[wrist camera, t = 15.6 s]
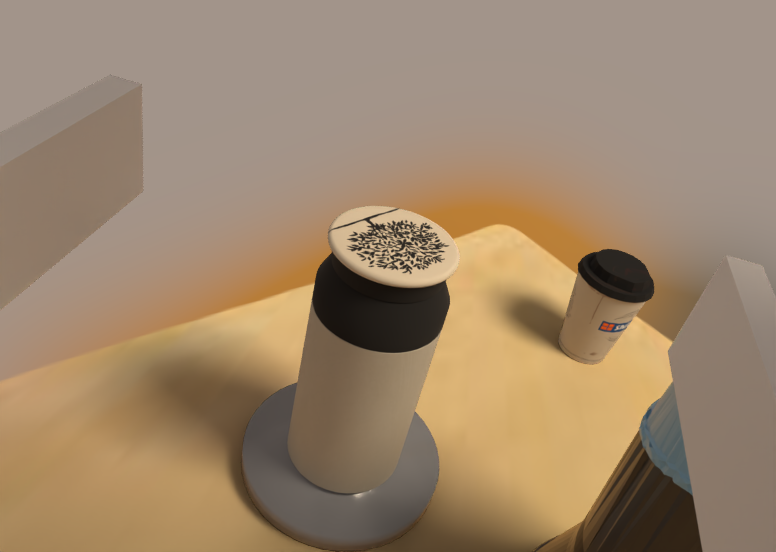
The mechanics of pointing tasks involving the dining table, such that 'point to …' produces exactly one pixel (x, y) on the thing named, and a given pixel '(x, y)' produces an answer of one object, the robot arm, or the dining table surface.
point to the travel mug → (368, 345)
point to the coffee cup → (603, 303)
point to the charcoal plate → (327, 508)
